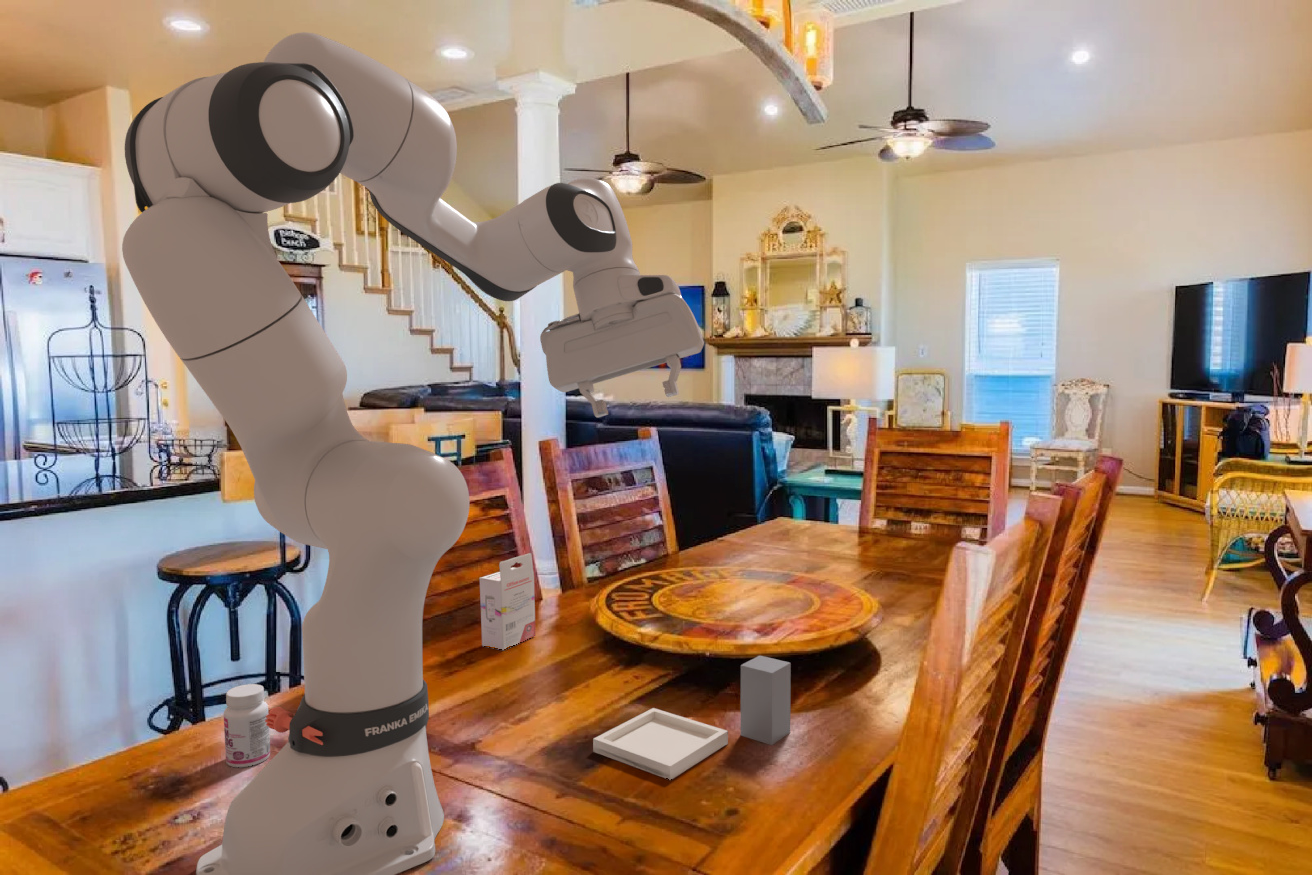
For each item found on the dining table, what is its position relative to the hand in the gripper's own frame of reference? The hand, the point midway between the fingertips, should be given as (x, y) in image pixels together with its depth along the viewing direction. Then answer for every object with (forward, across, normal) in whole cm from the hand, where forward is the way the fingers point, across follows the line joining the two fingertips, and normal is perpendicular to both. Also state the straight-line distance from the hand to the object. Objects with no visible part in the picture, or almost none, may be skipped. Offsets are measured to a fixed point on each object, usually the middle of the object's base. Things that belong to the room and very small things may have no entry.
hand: (636, 405), depth 106 cm
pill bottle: (+31, -54, -10) cm, 63 cm away
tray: (+41, -7, +2) cm, 42 cm away
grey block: (+43, +4, +8) cm, 44 cm away
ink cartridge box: (+25, -38, +35) cm, 58 cm away
